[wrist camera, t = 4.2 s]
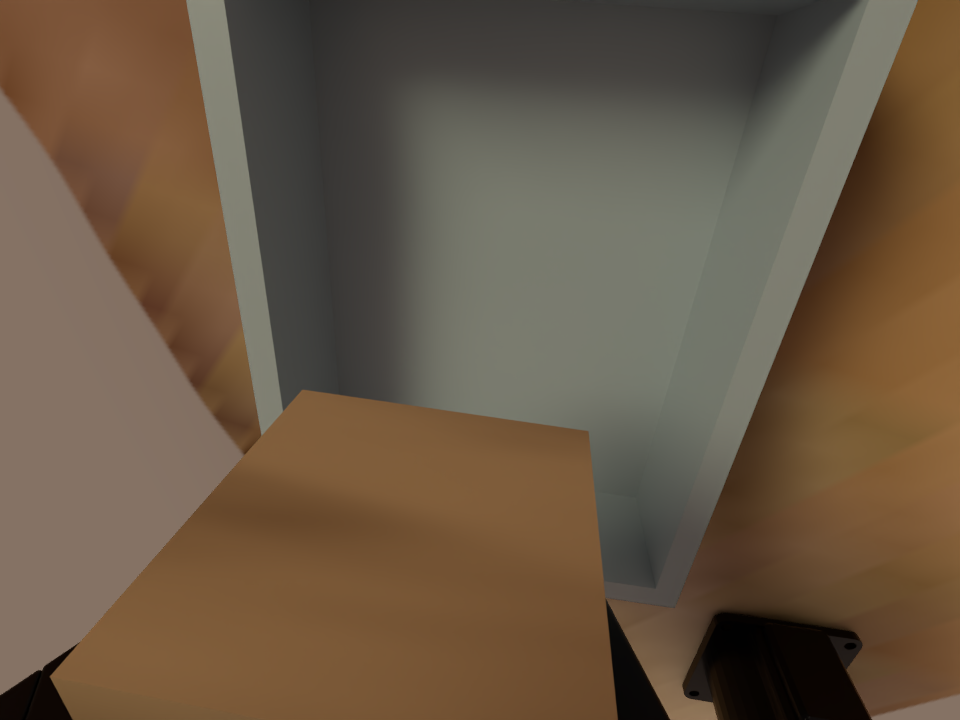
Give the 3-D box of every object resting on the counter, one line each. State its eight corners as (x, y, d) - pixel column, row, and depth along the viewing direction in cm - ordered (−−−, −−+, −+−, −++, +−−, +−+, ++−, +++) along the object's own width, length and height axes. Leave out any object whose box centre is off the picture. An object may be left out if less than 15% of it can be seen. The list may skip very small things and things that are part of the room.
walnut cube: (545, 621, 11) (538, 982, 6) (320, 581, 11) (166, 896, 7) (588, 430, 8) (626, 793, 4) (302, 389, 9) (50, 676, 4)
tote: (648, 500, 21) (674, 608, 17) (333, 458, 22) (280, 549, 18) (808, -17, 13) (947, -73, 8) (288, -49, 14) (166, -116, 9)
